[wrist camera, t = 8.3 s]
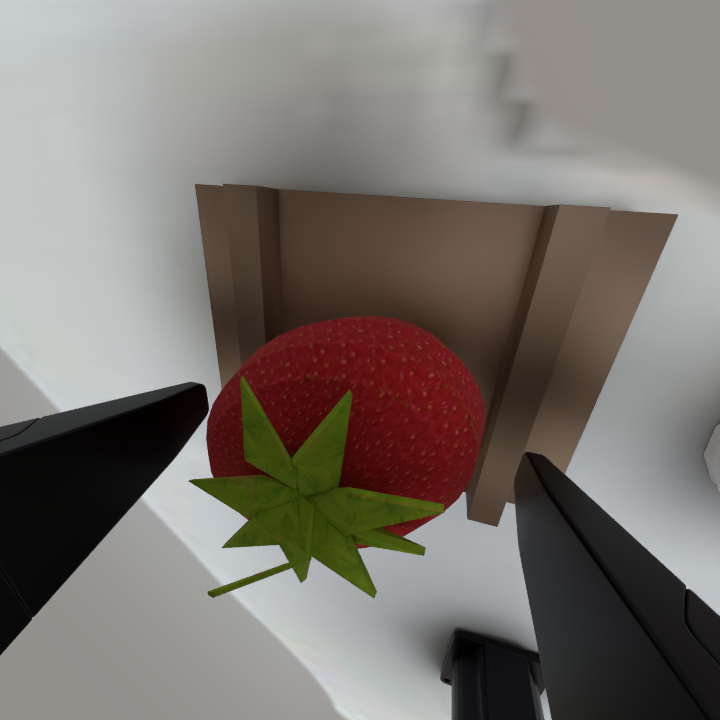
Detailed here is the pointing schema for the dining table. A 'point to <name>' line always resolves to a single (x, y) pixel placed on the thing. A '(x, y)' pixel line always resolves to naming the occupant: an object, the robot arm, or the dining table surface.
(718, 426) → the foam cup
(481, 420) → the strawberry
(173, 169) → the dining table surface
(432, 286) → the stand
